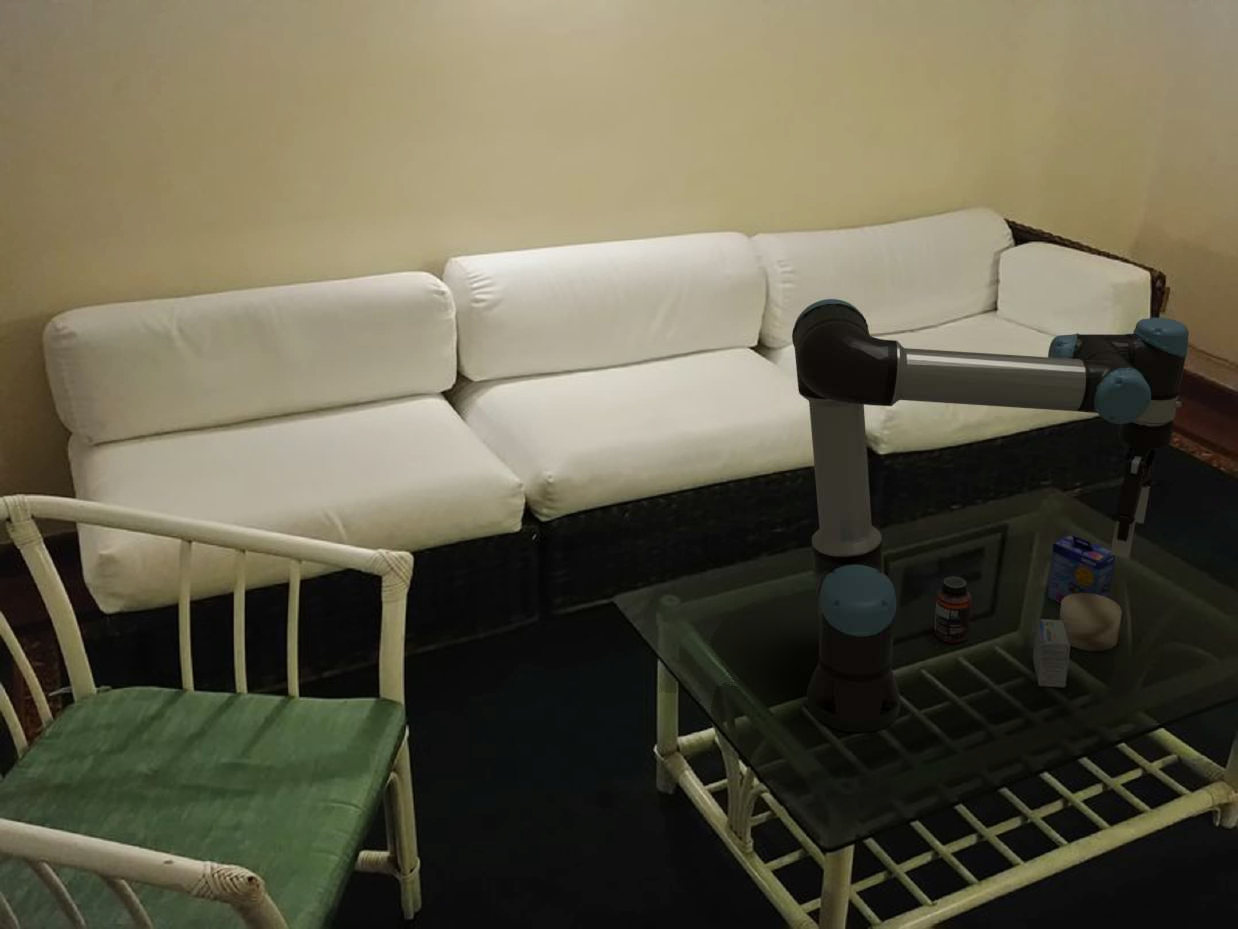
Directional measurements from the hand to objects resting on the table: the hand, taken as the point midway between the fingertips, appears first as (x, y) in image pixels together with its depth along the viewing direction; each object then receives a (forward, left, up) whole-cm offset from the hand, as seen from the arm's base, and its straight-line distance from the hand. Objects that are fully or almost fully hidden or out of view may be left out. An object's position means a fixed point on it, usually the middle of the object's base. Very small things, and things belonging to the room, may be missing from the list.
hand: (1127, 538), depth 185 cm
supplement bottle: (-25, +9, -25) cm, 36 cm away
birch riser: (-1, +9, -25) cm, 26 cm away
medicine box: (-11, -3, -25) cm, 27 cm away
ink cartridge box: (+1, +20, -25) cm, 32 cm away
